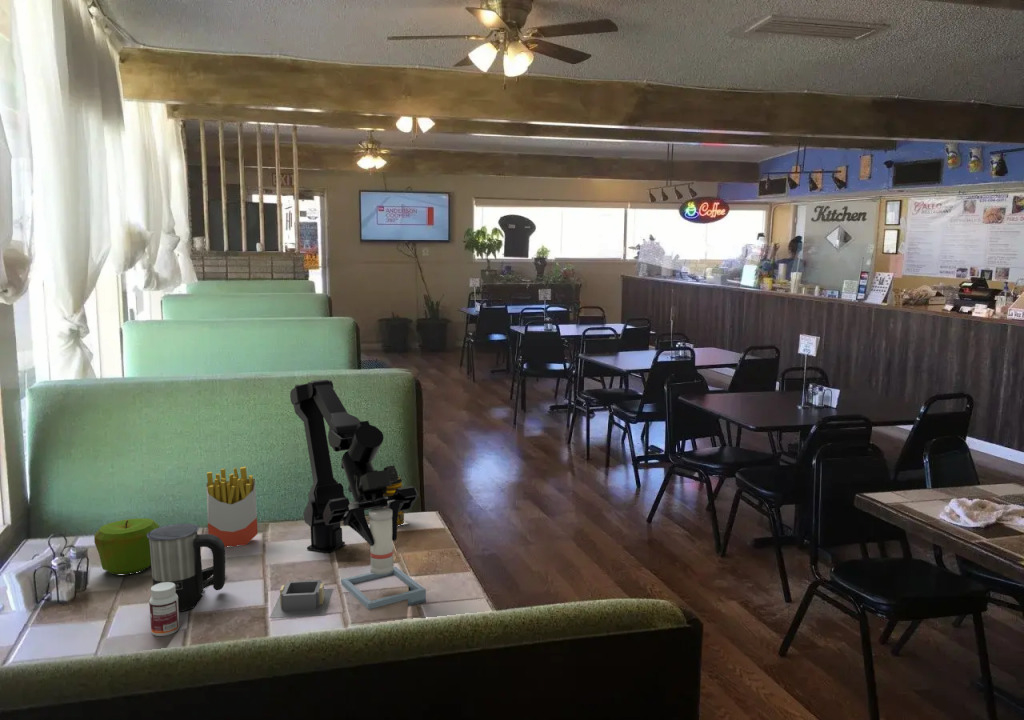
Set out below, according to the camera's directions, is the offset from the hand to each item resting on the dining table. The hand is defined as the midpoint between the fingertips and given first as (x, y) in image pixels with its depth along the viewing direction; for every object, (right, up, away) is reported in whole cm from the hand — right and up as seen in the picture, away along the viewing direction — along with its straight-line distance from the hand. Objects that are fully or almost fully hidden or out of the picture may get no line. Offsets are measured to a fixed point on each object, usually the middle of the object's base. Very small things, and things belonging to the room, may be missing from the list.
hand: (384, 542), depth 151 cm
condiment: (-6, -6, +47) cm, 47 cm away
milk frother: (-40, -12, +4) cm, 41 cm away
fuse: (-1, -6, +2) cm, 6 cm away
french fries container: (-41, -8, +33) cm, 53 cm away
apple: (-58, -10, +17) cm, 62 cm away
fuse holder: (-15, -12, -4) cm, 20 cm away
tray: (-1, -11, +2) cm, 12 cm away
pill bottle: (-38, -13, -12) cm, 42 cm away
